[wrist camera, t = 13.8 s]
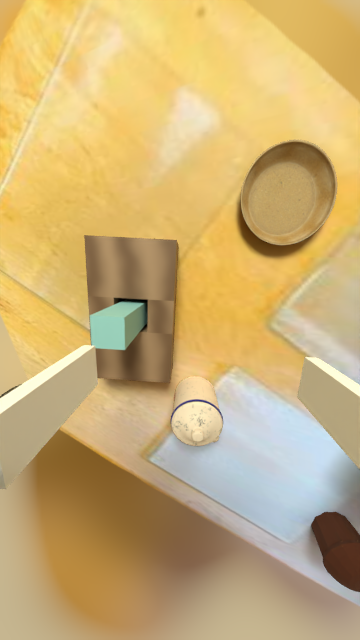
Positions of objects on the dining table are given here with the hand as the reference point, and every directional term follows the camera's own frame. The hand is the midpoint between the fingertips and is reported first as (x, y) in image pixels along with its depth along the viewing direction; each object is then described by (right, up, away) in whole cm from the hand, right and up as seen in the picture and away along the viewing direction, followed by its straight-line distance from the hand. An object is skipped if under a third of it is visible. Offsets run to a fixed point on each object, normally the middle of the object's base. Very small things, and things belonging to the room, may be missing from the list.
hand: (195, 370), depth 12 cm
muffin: (+37, -49, +37) cm, 72 cm away
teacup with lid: (+3, -14, +30) cm, 33 cm away
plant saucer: (+16, +23, +21) cm, 35 cm away
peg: (-9, +5, +24) cm, 26 cm away
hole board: (-9, +5, +26) cm, 28 cm away
